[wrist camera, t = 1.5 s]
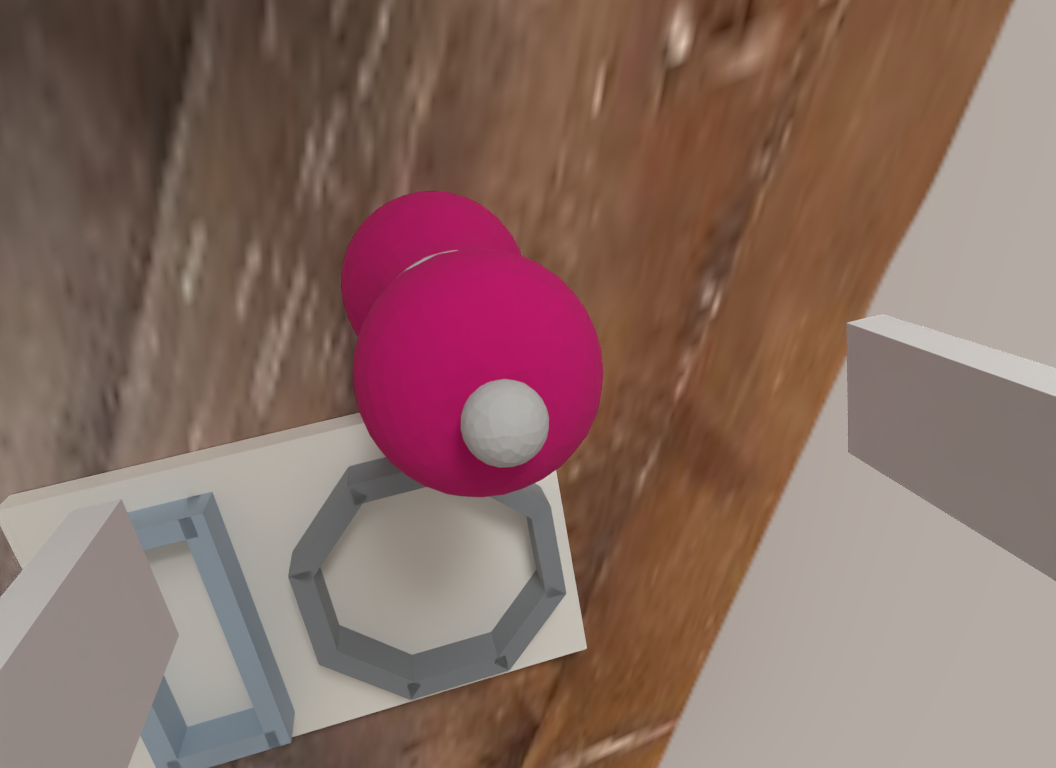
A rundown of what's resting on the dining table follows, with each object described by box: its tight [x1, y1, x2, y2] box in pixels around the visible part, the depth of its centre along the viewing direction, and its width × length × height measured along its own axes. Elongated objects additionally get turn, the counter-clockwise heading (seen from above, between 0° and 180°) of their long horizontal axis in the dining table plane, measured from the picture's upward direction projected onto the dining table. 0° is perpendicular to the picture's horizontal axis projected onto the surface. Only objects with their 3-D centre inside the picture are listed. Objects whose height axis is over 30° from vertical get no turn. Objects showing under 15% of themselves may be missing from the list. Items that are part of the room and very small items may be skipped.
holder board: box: [0, 412, 587, 768], centre depth 34 cm, size 16×24×4 cm, turn 100°
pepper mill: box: [341, 191, 603, 497], centre depth 22 cm, size 7×7×20 cm
